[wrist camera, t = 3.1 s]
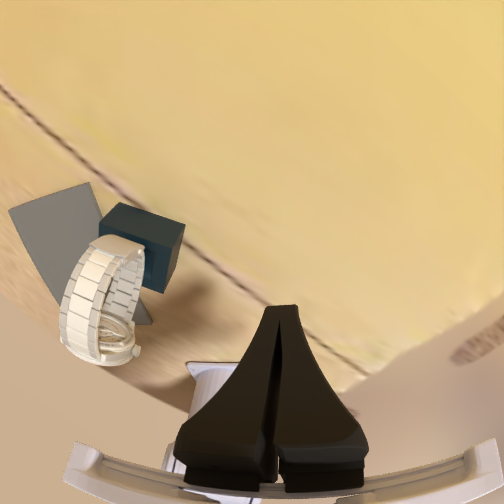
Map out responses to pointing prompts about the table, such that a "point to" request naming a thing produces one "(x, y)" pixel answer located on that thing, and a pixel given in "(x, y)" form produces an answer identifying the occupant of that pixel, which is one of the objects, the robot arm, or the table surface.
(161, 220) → the watch
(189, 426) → the robot arm
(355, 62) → the table surface
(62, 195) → the mat
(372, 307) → the table surface
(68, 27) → the table surface
